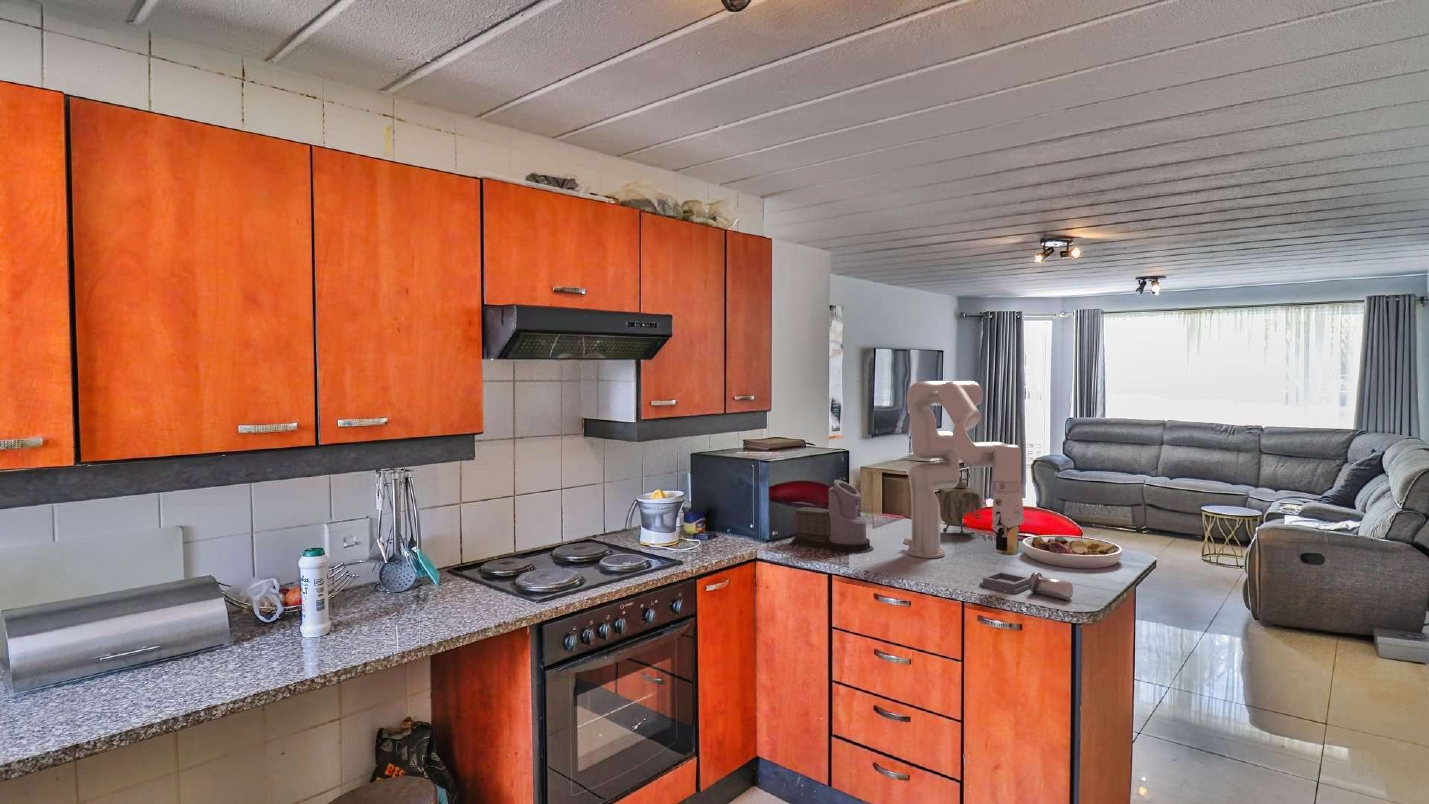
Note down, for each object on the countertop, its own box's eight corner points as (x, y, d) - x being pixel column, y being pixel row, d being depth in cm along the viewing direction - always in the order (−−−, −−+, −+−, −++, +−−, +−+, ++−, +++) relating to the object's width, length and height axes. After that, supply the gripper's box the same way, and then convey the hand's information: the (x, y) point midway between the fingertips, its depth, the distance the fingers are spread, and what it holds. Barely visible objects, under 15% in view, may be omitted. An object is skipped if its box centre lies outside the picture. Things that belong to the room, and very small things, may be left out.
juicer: (880, 546, 269) (879, 479, 268) (863, 556, 255) (863, 485, 254) (805, 537, 285) (804, 474, 284) (785, 546, 272) (785, 479, 271)
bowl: (1041, 544, 269) (1041, 523, 269) (1133, 558, 249) (1133, 534, 248) (1008, 560, 247) (1008, 537, 247) (1106, 576, 227) (1106, 551, 227)
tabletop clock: (976, 531, 291) (977, 468, 290) (983, 536, 282) (983, 471, 281) (939, 531, 292) (939, 468, 291) (944, 536, 283) (944, 471, 282)
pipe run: (1028, 594, 209) (1028, 573, 209) (1038, 590, 213) (1038, 570, 213) (1064, 602, 201) (1064, 581, 201) (1073, 597, 205) (1073, 577, 205)
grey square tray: (979, 586, 218) (979, 577, 218) (998, 578, 225) (998, 570, 225) (1015, 594, 209) (1015, 585, 209) (1034, 586, 216) (1034, 578, 216)
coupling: (993, 553, 217) (993, 525, 217) (1003, 550, 220) (1003, 522, 220) (1011, 556, 213) (1011, 528, 212) (1021, 553, 216) (1021, 525, 216)
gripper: (1004, 491, 207) (1004, 555, 208) (1033, 485, 219) (1033, 546, 219) (979, 488, 213) (979, 551, 214) (1009, 482, 224) (1009, 542, 225)
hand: (1007, 547), depth 216 cm, fingers closed on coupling, 5 cm apart
